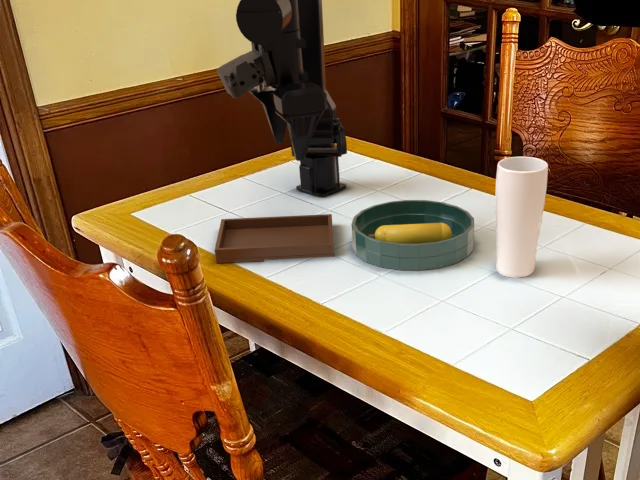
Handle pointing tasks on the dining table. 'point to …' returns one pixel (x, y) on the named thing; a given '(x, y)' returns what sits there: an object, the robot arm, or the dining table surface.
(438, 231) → the yellow gas canister
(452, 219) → the green round cake pan
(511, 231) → the drinking glass
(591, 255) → the dining table surface
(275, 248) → the tray
